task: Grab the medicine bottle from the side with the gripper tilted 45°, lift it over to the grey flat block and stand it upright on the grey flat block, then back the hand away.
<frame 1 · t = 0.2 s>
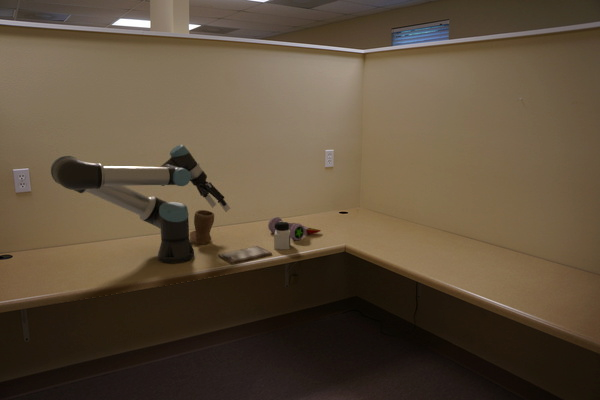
hand: (221, 207, 218), 16 cm above the worktop, tool tilted 35°, fingers open, 13 cm apart
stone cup: (202, 241, 219), on the worktop
medicine bottle: (282, 247, 209), on the worktop
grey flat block: (245, 255, 197), on the worktop
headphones: (294, 234, 230), on the worktop
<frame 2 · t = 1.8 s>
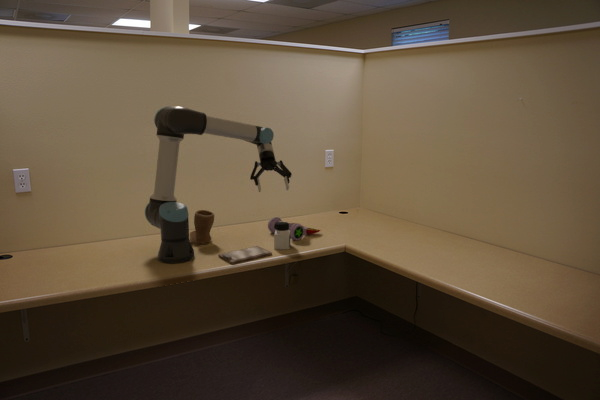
hand: (274, 189, 212), 25 cm above the worktop, tool tilted 45°, fingers open, 13 cm apart
nothing on the worktop moved.
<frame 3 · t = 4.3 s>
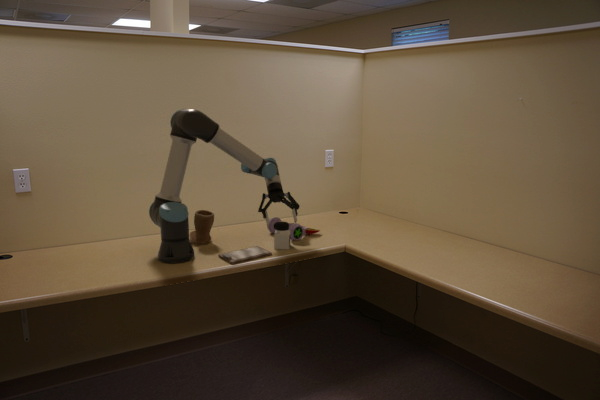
hand: (282, 222, 211), 10 cm above the worktop, tool tilted 45°, fingers open, 13 cm apart
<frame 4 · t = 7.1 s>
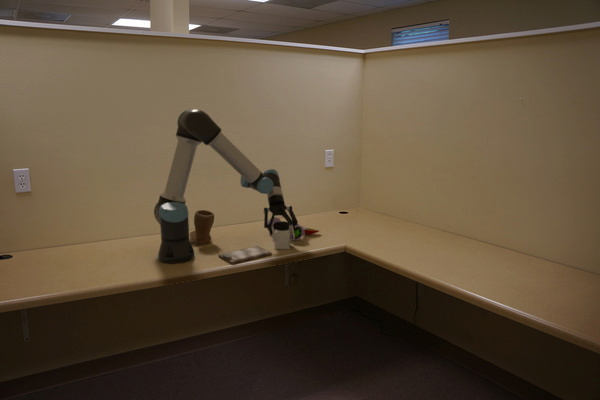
hand: (284, 239, 205), 5 cm above the worktop, tool tilted 45°, fingers closed on medicine bottle, 8 cm apart
medicine bottle: (282, 247, 209), on the worktop, touching gripper
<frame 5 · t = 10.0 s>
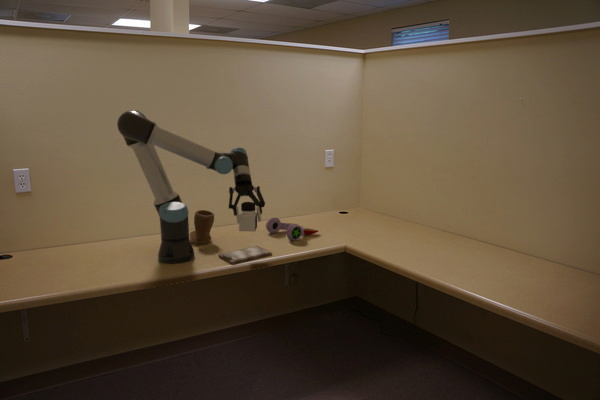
hand: (249, 220, 191), 16 cm above the worktop, tool tilted 45°, fingers closed on medicine bottle, 8 cm apart
medicine bottle: (248, 229, 195), point 11 cm above the worktop, touching gripper
when the fingers open (7 cm above the worktop, at t = 13.2 s): medicine bottle drops 1 cm, resting on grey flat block.
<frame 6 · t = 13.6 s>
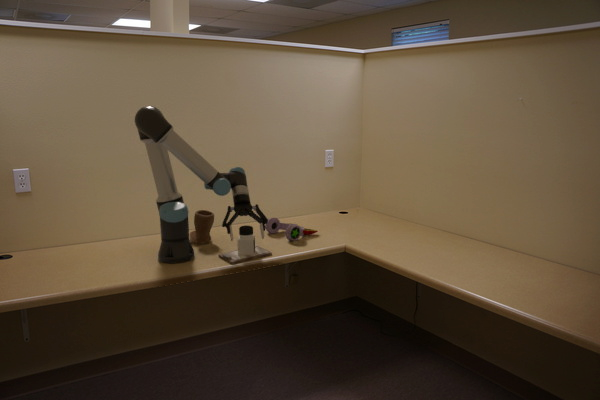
hand: (247, 238, 193), 8 cm above the worktop, tool tilted 45°, fingers open, 13 cm apart
medicine bottle: (246, 253, 197), point 1 cm above the worktop, touching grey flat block
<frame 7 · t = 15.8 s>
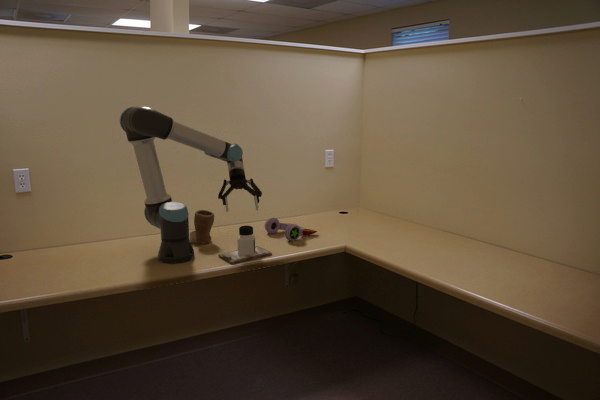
hand: (242, 209, 203), 18 cm above the worktop, tool tilted 45°, fingers open, 13 cm apart
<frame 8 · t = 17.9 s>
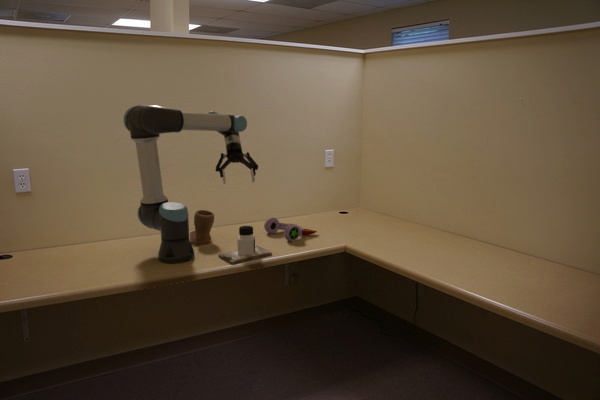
hand: (239, 181, 209), 30 cm above the worktop, tool tilted 45°, fingers open, 13 cm apart
at the end: medicine bottle inside the target area on the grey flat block (0.8 cm from its centre), point 1.0 cm above the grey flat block's base; medicine bottle tilted 0°; the gripper is holding nothing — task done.
